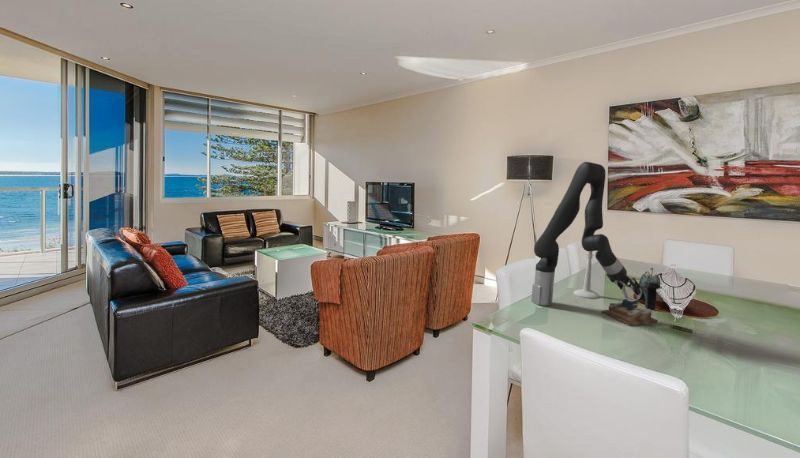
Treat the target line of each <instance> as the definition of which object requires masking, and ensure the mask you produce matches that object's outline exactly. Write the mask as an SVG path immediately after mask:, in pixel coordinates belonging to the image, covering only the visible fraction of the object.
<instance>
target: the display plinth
mask: <svg viewBox="0 0 800 458" xmlns="http://www.w3.org/2000/svg"><path fill="white" fill-rule="evenodd" d="M600 314H603V315H605V316H607V317H609V318H612V319H613V320H616V321H618V322H620V323H623V324H625V325H627V326H629V327H633V326H634V327H635V326H642V325H651V324H658V323H659V319H656V318H653V317H652V310H651V309H647V308H644V309H642V308H640V307H637V308H634V309H629V308H626V307H622V301H621V302H619V301H618V302H610V303H609V305H608V309H606V310H605V309H604V310H601V313H600Z"/></svg>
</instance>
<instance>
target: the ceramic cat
mask: <svg viewBox="0 0 800 458" xmlns="http://www.w3.org/2000/svg"><path fill="white" fill-rule="evenodd" d="M650 270H651V274H650V272H649V271H645V273H643V274H642V275H641V277H640V279H639V282H638V283H639V285H640V286H641V287H640V288H641V291H642V295H641V297H640V299H639V300H638V301H640V300H645V301H644V303H645V304H644V307H646V308H645V309H651V311H656V305H657V290H659V289H661V278H660V277H659V274H657V273H656V274H654V275H653V272H654V271H653V270H654V268H653V267H651V268H650ZM647 273H648V274H647Z"/></svg>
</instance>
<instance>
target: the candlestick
mask: <svg viewBox="0 0 800 458" xmlns="http://www.w3.org/2000/svg"><path fill="white" fill-rule="evenodd" d="M587 252H588V253H586V257H587V260H586V261H587V263H586V268H585V276H584V281H583V287H582V288H580V289H576V290H574V291H573V295H575V296H576V297H579V298H582V299H590V300H594V299H595V300H596V299H599V298H600V294H599V293H598V292H596V291H593V290H592V289H591V283H592V282H591V280H592V259H593V256H594V254H593V251H587Z"/></svg>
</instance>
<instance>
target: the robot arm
mask: <svg viewBox="0 0 800 458" xmlns="http://www.w3.org/2000/svg"><path fill="white" fill-rule="evenodd" d="M606 174H607V173H606V169H605V166H603V165H601V164H599V163H596V162H595V163H594V162H592V161H591V162H590V161H584V162H582V163H581V164H579V165H578V167H577V169H576V170H575V172H574V174H573V176H572V179H571V181H570V184H569V185H568V188H567V189H566V192H565V194H564V196H563V198H562V199H561V201H560V202H559V204H558V205H557V208H556V209H555V212H554V213H553V215H552V217H551V218H550V220H549V222H548V224H547V226H546V228H545V230H544V231H543V233H542V234H541V235H540V237H539V238H538V239H537V240H536V242H535V244H534V247H533V251H534V252H533V253H534V255H535V256H536V257H537V258H539V259H540V260H539V261H538V262H537V263H536V264H535V273H534V283H533V284H532V289H531V290H532V291H531V302H532V303H533V302H534V303H533V304H536V305H537V306H542V307H543V306H546V307H548V306H552V305H553V299H554V298H553V296H554V288H555V286H554V285H555V274H556V273H555V272H556V268H557V266H558V263H559V261H558V260H559V253H560V251H559V250H560V248H559V243H558V242H557V239H558V238H559V237H560V236H561V235H562V234H563V233H564V231H566V230H567V229H568V228H569V227H571V225H572V224H573V222H574V220H575V219H576V217H577V215H578V214H579V212H580V209H581V207H580V206H581V195H582V192H583V190H584V188H585V186H586V185H587V184H589V186H590V196H589V199H588V201H587V203H586V206H585V209H584V228H583V231H582V232H583V234H582V238H581V247H582V248H583V250H585V251H586V252H588V251H592V252H596V253H595V255H594V256H595V258H596V260H597V262H598V264H600V266H601V268H602V269H603V271H604V272H605V274H606V277H607V278H608V280H610V282H611V283H613V284H615V285H617V286H618V288H619V290H621V291H622V287H623V286H624V285H625V287H627V288H630V289H631V290H632V291H634V292H635V294H636V295H639V294H640V292H641V291H640V290H639V288H640V287H641V286H640V285H639V282H638V281H637V280H636V279H635V278H634V277H632V278H630V277H629V276H628V271H627V269H626V268H625V266H624V265H623V263H622V262H621V261H620V259H619V258H618V257H617V256H616V255H615V254H614V252H613V250H612V248H611V247H612V246H611V244H610V240H609V238H608V236H606V235H605V234H603V233H598V234H595V232H596V231H599V230H601V229H602V228H603V226H604V218H603V217H604V216H603V215H604V214H603V200H604V192H605V184H606ZM629 283H630V284H629ZM627 284H629V285H627ZM632 286H633V287H632ZM634 292H633V293H634ZM635 294H634V295H635ZM636 295H635V296H636Z"/></svg>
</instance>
